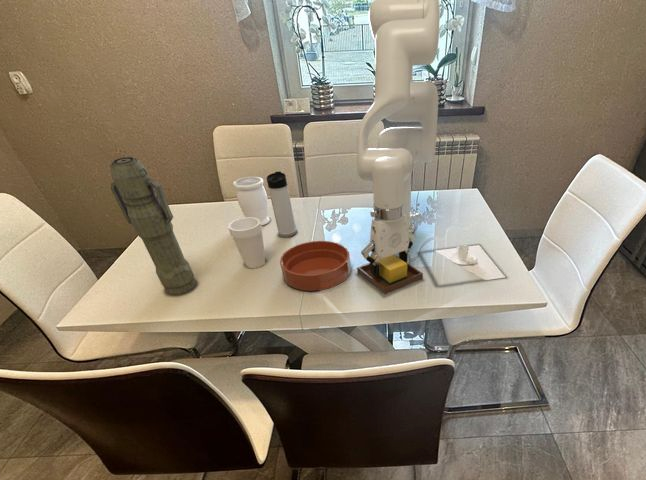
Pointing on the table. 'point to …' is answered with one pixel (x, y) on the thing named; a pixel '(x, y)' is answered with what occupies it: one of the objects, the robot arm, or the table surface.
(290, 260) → the terracotta plant saucer
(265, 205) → the jar
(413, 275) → the tray
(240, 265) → the table surface
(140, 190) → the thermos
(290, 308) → the table surface
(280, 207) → the travel mug
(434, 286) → the table surface
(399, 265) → the sponge
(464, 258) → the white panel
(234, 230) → the foam cup
